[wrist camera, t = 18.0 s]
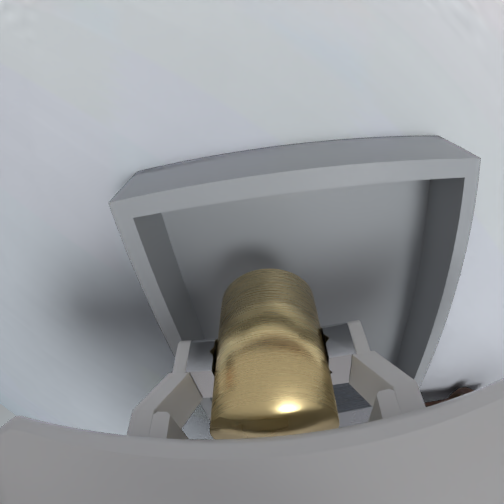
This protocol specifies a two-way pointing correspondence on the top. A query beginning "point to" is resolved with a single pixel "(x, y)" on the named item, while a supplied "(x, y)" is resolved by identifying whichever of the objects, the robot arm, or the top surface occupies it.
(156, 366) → the top surface
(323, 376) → the brass cylinder
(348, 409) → the steel block
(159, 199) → the parts tray
